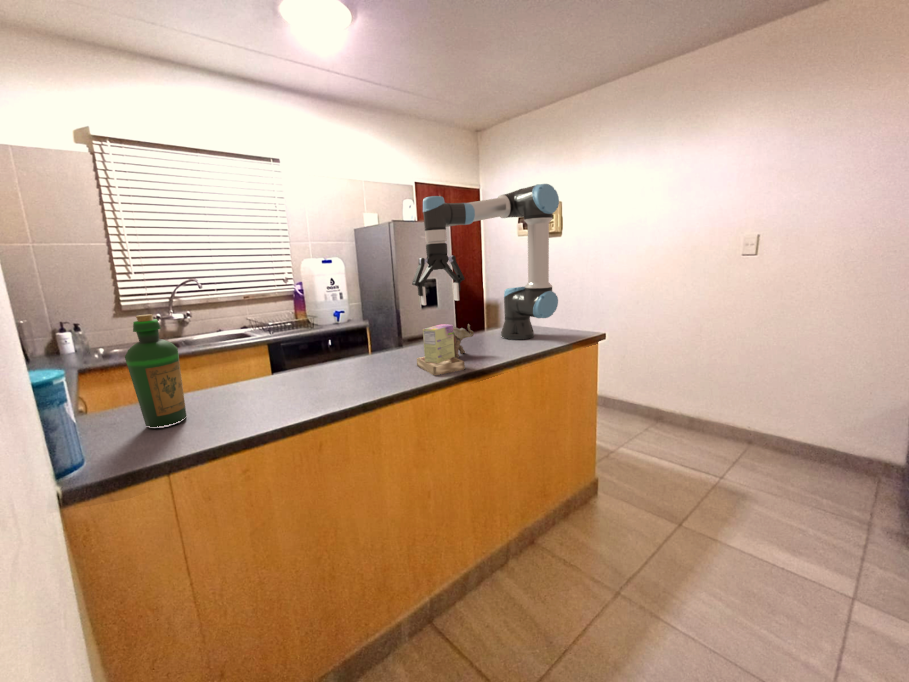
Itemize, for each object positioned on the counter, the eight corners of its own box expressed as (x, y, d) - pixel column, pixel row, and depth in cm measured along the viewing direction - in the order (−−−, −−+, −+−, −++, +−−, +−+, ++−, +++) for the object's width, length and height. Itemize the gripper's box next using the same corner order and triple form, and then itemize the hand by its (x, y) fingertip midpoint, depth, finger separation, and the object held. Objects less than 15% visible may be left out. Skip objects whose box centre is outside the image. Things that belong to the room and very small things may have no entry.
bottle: (183, 428, 98) (160, 316, 92) (133, 435, 95) (105, 320, 89) (197, 412, 108) (177, 310, 102) (152, 418, 105) (128, 314, 99)
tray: (445, 360, 149) (445, 353, 149) (464, 369, 137) (464, 361, 136) (417, 366, 144) (416, 358, 143) (434, 375, 131) (433, 367, 131)
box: (442, 355, 146) (440, 323, 143) (455, 357, 142) (453, 324, 140) (424, 362, 137) (422, 328, 135) (437, 364, 134) (435, 329, 131)
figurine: (467, 367, 152) (475, 330, 147) (430, 360, 152) (437, 323, 147) (467, 359, 161) (475, 324, 157) (433, 352, 161) (439, 317, 156)
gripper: (461, 241, 150) (464, 297, 154) (399, 245, 138) (405, 305, 143) (471, 240, 143) (474, 299, 148) (408, 244, 131) (413, 307, 136)
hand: (440, 302), depth 145 cm, fingers open, 13 cm apart
